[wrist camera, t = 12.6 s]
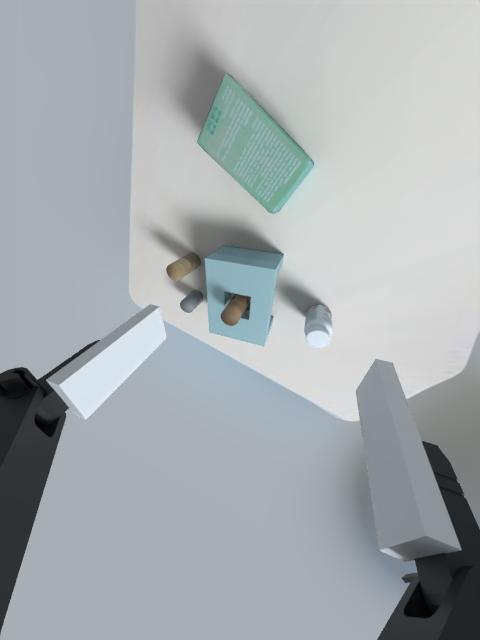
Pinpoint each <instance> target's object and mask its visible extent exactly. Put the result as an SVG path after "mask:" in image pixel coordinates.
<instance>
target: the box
mask: <svg viewBox="0 0 480 640" xmlns="http://www.w3.org/2000/svg"><path fill="white" fill-rule="evenodd" d="M197 143H198V144H199V145H200V146H201V147H202V148H203V149H204V151H205V152H207V153H208V154H209V155H210V156H211V157H212V158H213V159H214V160H215V161H216V162H217V163H218V164H219V165H220V166H221V167H222V168H224V169H225V170H226V171H227V172H228V173H229V174H230V175H231V176H232V177H233V178H234V179H235V180H236V181H237V182H238V183H239V184H240V185H241V186H242V187H243V188H244V189H246V190H247V191H248V192H249V193H250V194H251V195H252V196H253V197H254V198H255V199H256V200H257V201H258V202H259V203H260V204H261V205H262V206H263V207H264V208H265V209H266V210H267V211H268V212H270V213H276V212H279V211H280V210H281V208H282V207H283V206H284V204H285V203H286V202H287V200H288V199H289V198H290V197H291V195H292V194H293V193H294V191H295V190H296V189H297V187H298V186H299V185H300V184H301V182H302V181H303V180H304V178H305V177H306V176H307V175H308V173H309V172H310V171H311V169H312V168H313V166H314V162H313V161H312V159H311V158H310V157H309V156H308V155H307V154H306V153H305V152H304V151H303V150H302V148H301V147H300V146H299V145H298V144H297V143H296V142H295V141H294V140H293V139H292V138H291V137H290V136H289V135H288V134H287V133H286V132H285V131H284V130H283V129H282V128H281V127H280V126H279V125H278V124H277V123H276V122H275V121H274V119H273V118H272V117H271V116H270V115H269V114H268V113H267V112H266V111H265V110H264V109H263V108H262V107H261V106H260V105H259V104H258V103H257V102H256V101H255V100H254V99H253V98H252V97H251V96H250V95H249V93H248V92H247V91H246V90H245V89H244V88H243V87H242V86H241V85H240V84H239V83H238V82H237V81H236V80H235V79H234V78H233V77H232V76H231V75H229V74H227V73H225V75H224V78H223V80H222V82H221V85H220V87H219V90H218V92H217V94H216V97H215V99H214V102H213V104H212V107H211V109H210V111H209V114H208V116H207V119H206V121H205V124H204V126H203V128H202V131H201V133H200V136H199V138H198V141H197Z"/></svg>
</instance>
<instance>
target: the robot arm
mask: <svg viewBox="0 0 480 640" xmlns="http://www.w3.org/2000/svg"><path fill="white" fill-rule="evenodd" d="M165 339H166V333H165V329H164V324H163V320H162V315H161V311H160V307H159V306H154V305H149V306H147V307H146V308H144V309H143V310H142V311H140V312H139V313H138V314H136V315H135V316H133V317H132V318H131V319H129V320H128V321H126V322H125V323H124V324H122V325H121V326H120V327H119V328H117V329H116V330H114V331H113V332H111V333H110V334H109V335H107V336H106V337H104V338H103V339H102V340H98V341H95V342H93V343H91V344H89V345H87V346H86V347H84V348H83V349H81V350H80V351H79V352H78V353H76V354H74V355H73V356H72V357H71V358H69V359H67V360H66V361H64V362H63V363H61V364H60V365H59V366H57V367H56V368H54V369H53V370H52V371H50V372H49V373H47V374H46V375H44V376H43V377H42V378H40V379H38V380H37V379H36V378H35V377H34V376H33V375H32V374H31V372H29V370H28V369H27V368H23V367H20V368H14V369H10V370H7V371H5V372H3V373H1V374H0V632H1V629H2V625H3V622H4V619H5V615H6V612H7V609H8V606H9V602H10V599H11V595H12V592H13V589H14V586H15V583H16V579H17V576H18V573H19V570H20V566H21V563H22V560H23V557H24V553H25V550H26V547H27V543H28V540H29V537H30V534H31V530H32V527H33V524H34V520H35V517H36V514H37V510H38V507H39V504H40V501H41V497H42V494H43V491H44V487H45V484H46V481H47V478H48V475H49V471H50V468H51V465H52V461H53V458H54V455H55V451H56V448H57V444H58V442H59V438H60V435H61V431H62V429H63V425H64V422H65V419H66V413H65V411H66V410H67V409H68V408H69V409H70V410H71V411H72V412H73V413H74V415H77V416H79V417H81V418H84V419H87V418H88V417H89V416H90V415H91V414H92V413H93V412H94V411H95V410H96V409H97V408H98V407H99V406H100V405H101V404H102V403H103V402H104V401H105V400H106V399H107V398H108V397H109V396H110V395H111V394H112V393H113V392H114V391H115V390H116V389H117V388H118V387H119V386H120V385H121V384H122V382H124V381H125V380H126V379H127V378H128V377H129V376H130V374H131V373H132V372H133V371H134V370H135V369H136V368H137V367H138V366H139V365H140V364H141V363H142V362H143V361H144V360H145V359H146V358H147V357H148V356H149V355H150V354H151V353H152V352H153V351H154V350H155V349H156V348H157V347H158V346H159V345H160V344H161V343H162V342H163V341H164V340H165ZM356 396H357V403H358V410H359V416H360V423H361V430H362V437H363V443H364V450H365V457H366V464H367V471H368V478H369V484H370V490H371V497H372V505H373V512H374V517H375V525H376V532H377V538H378V546H379V550H380V551H382V552H384V553H386V554H389V555H391V556H393V557H395V558H398V559H400V560H402V561H405V562H406V561H411V560H415V562H416V566H417V571H418V573H412V574H406V575H405V576H404V577H402V579H403V580H404V582H405V583H407V582H411V583H410V585H409V586H408V588H407V590H406V591H405V593H404V595H403V596H402V598H401V600H400V601H399V603H398V605H397V607H396V608H395V610H394V612H393V613H392V615H391V617H390V619H389V620H388V622H387V624H386V625H385V627H384V629H383V631H382V632H381V634H380V636H379V637H378V640H480V529H479V527H478V525H477V522H476V520H475V518H474V516H473V513H472V511H471V509H470V507H469V504H468V502H467V500H466V498H464V493H463V491H462V488H461V486H460V484H459V483H458V482H457V480H458V479H457V477H456V475H455V473H454V470H453V468H452V466H451V463H450V462H449V460H448V459H447V458H446V457H445V455H444V454H443V453H442V451H441V450H440V449H439V447H438V446H437V445H434V444H430V443H427V442H424V441H421V438H420V436H419V433H418V430H417V427H416V425H415V422H414V419H413V417H412V414H411V411H410V409H409V406H408V403H407V400H406V398H405V395H404V392H403V390H402V387H401V384H400V381H399V379H398V376H397V373H396V371H395V368H394V365H393V363H391V362H387V361H383V360H379V359H375V361H374V363H373V364H372V366H371V367H370V369H369V371H368V372H367V374H366V375H365V377H364V379H363V380H362V382H361V383H360V385H359V387H358V388H357V390H356Z"/></svg>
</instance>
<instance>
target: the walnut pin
mask: <svg viewBox="0 0 480 640" xmlns="http://www.w3.org/2000/svg"><path fill="white" fill-rule="evenodd" d="M250 301H251V297H249V296H244V295H240V294H235V296H234V297H233V298H232V300H231V301H230V302H229V303H228V305H227V306H226V307H225V309H224V310H223V311H222V313H221V320H222V321H223V322H224V323H225V324H226V325H229V326H234V325H236V324H237V323H238V321H239V320H240V318H241V316H242V315H243V313H244V311H245V310H246V308H247V306H248V305H249V303H250Z"/></svg>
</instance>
